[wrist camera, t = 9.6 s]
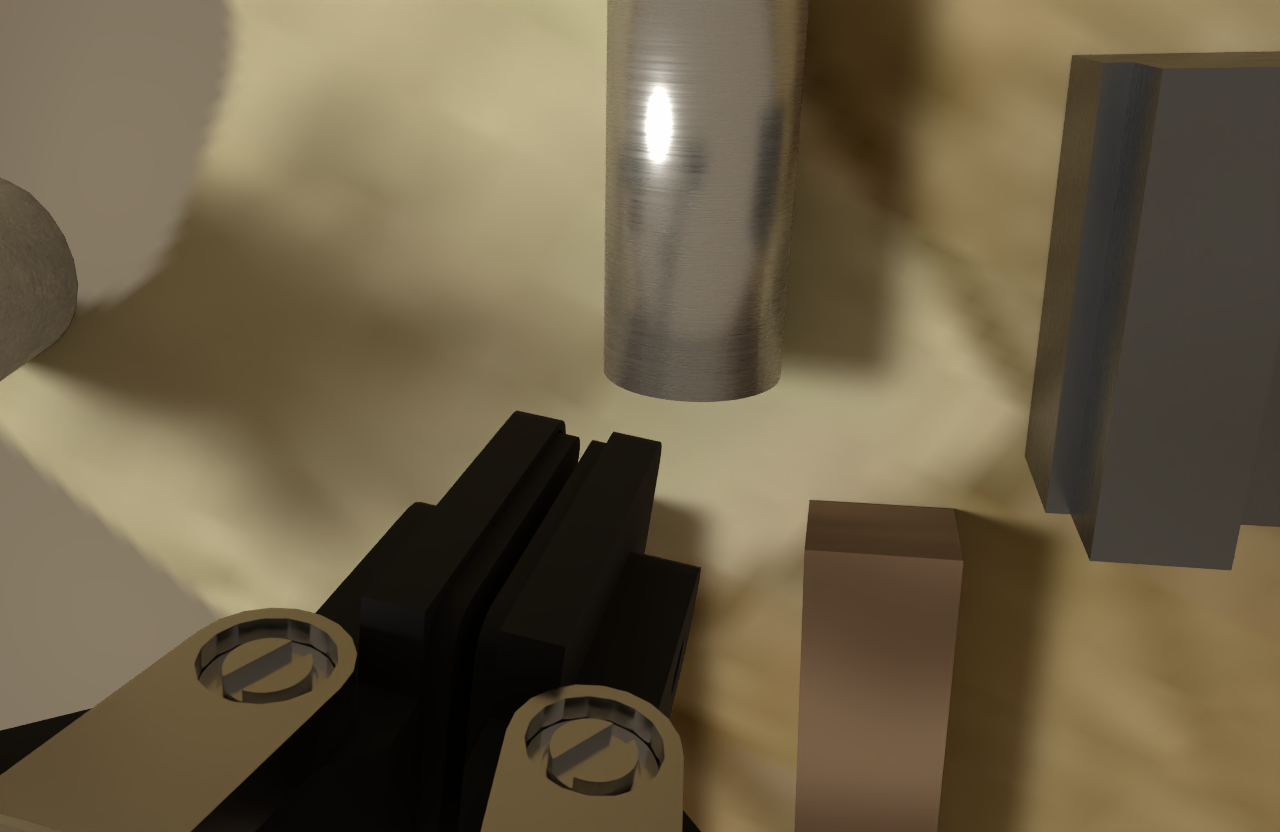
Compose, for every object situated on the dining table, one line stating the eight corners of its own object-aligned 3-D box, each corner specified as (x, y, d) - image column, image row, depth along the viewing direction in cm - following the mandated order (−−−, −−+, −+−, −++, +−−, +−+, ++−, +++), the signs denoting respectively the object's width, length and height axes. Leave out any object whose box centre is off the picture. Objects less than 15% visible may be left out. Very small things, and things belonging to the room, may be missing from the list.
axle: (788, 351, 25) (770, 410, 21) (626, 336, 26) (582, 391, 22) (825, -113, 21) (811, -138, 18) (634, -114, 22) (584, -137, 18)
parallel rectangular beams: (905, 1034, 32) (908, 1116, 30) (530, 976, 34) (506, 1048, 32) (954, 508, 26) (963, 560, 23) (487, 480, 28) (452, 525, 25)
